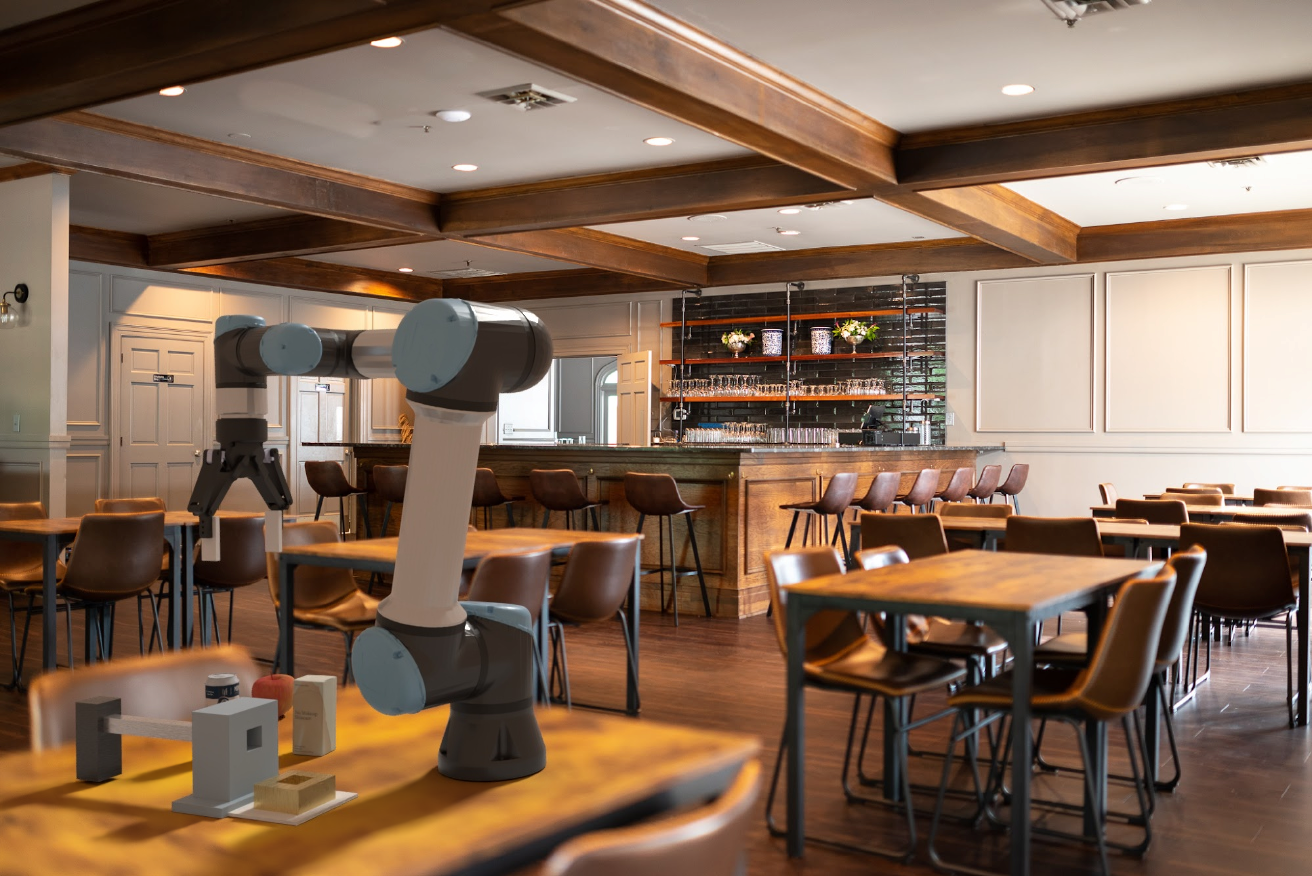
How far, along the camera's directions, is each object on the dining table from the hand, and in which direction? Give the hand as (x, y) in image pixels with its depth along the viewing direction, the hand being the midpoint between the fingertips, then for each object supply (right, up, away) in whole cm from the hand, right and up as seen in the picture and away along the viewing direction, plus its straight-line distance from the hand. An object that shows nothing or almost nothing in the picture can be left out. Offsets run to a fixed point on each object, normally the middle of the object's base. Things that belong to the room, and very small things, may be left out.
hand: (243, 556), depth 178 cm
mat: (+17, -29, -30) cm, 45 cm away
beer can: (0, -29, -7) cm, 30 cm away
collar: (+18, -27, -31) cm, 44 cm away
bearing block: (+9, -29, -27) cm, 40 cm away
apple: (-1, -29, +18) cm, 34 cm away
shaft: (-4, -28, -22) cm, 36 cm away
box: (+12, -29, -5) cm, 32 cm away
